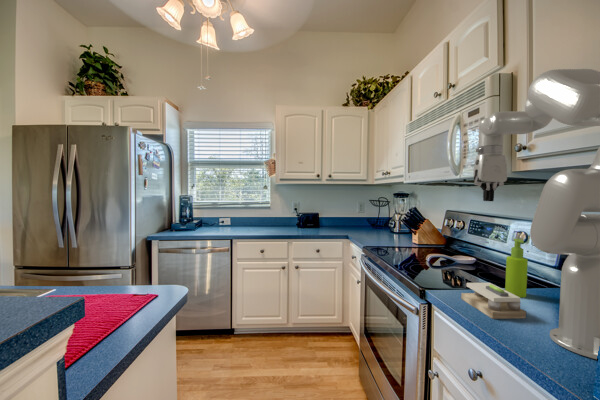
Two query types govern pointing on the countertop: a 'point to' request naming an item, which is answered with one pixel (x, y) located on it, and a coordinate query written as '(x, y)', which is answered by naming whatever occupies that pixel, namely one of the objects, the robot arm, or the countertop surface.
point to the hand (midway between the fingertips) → (488, 200)
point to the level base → (491, 313)
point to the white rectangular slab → (493, 292)
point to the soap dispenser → (516, 271)
